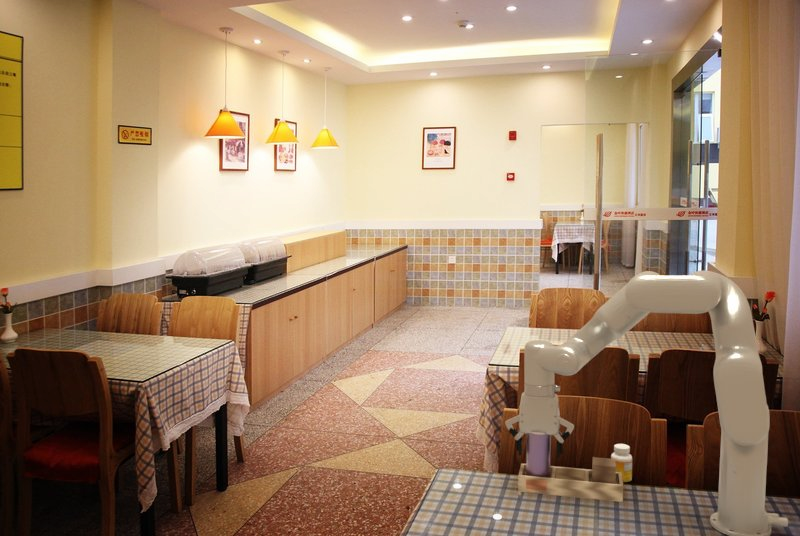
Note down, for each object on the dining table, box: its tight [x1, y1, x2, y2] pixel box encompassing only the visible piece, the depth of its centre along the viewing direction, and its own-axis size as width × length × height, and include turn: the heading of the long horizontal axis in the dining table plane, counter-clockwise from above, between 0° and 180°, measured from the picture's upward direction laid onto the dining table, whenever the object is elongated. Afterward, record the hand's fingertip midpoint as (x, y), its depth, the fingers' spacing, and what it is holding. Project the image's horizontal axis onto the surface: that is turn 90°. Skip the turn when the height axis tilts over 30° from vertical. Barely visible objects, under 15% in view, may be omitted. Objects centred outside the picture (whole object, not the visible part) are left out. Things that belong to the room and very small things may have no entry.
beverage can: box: [525, 431, 552, 478], centre depth 182 cm, size 6×6×15 cm
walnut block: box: [591, 456, 616, 484], centre depth 178 cm, size 6×6×8 cm
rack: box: [517, 462, 624, 503], centre depth 180 cm, size 25×9×5 cm, turn 75°
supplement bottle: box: [610, 443, 633, 483], centre depth 187 cm, size 5×5×10 cm
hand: (539, 455), depth 181 cm, fingers open, 9 cm apart
